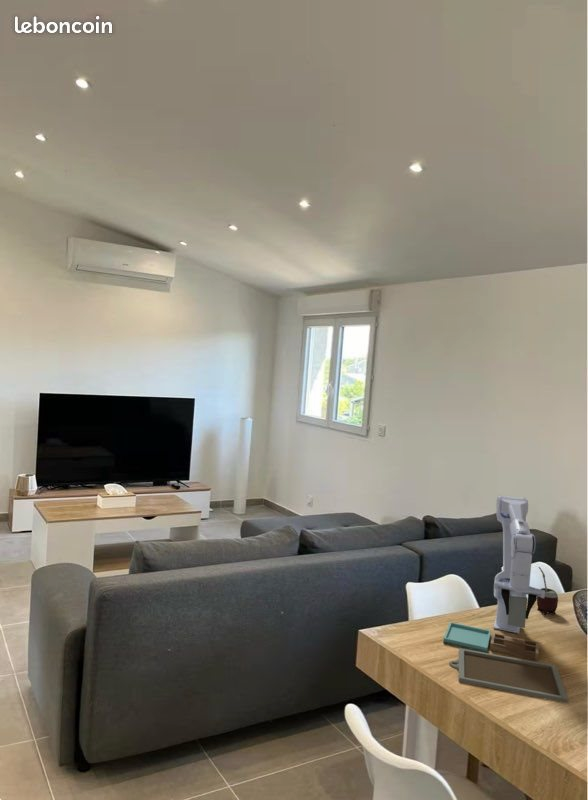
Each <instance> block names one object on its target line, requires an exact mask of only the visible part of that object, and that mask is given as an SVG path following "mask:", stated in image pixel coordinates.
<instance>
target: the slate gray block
mask: <svg viewBox="0 0 588 800" xmlns="http://www.w3.org/2000/svg"><path fill="white" fill-rule="evenodd" d="M527 602H528V596H526V597H522V596H517V595H512V594H510V602H509V615H508V625H512V626H516V627H520V629H526V620H527V619H526V610H527Z"/></svg>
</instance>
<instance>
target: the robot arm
mask: <svg viewBox="0 0 588 800" xmlns="http://www.w3.org/2000/svg"><path fill="white" fill-rule="evenodd" d="M495 506H496V512H495V514H496V518H497V519H496V520H497V521H498V522H500V523H501V527H502V558H503V559H502V571H500V572H498V573H497V574H495V576H494V583H493V596H494V598H495V599H496V600H497V606H496V615H495V616H496V617H495V620H494V625H493V629H496V630H500V631H505V632H509V633H514V634H520V631H521V627H516V626H512V625H508V615H509V602H510V594H512V595H517V596H522V597H527V608H526V620H528V619H529V615H530V612H531V610H532V608H533V606H534V605H535V603H537V596H538V597H541V598H544V595H545V590H541V588H536V587H532V586H530V584H531V583H530V582H531V572H532V561H533V554H535V551H536V537H535V535H534V534H533V533H531V531H530V527H529V524H528V522H527V521H526V517H527V515H528V512H529V501H528V499H527V498H526V497H517V496H506V495H505V496H504V495H498V496H497V499H496V505H495Z"/></svg>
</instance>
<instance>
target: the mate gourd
mask: <svg viewBox="0 0 588 800" xmlns="http://www.w3.org/2000/svg"><path fill="white" fill-rule="evenodd" d="M538 569H539V571H540V572H541V574H542V578H543V579H542V580H543V582H544V583H543V584H544V587H542V588H540V589H541V590H545V595H544V598H541V597H538V596H537V600H536V605H537V608H536V610H537V611H539V612H543V615H545V616H547V614H551V615H556V611H557V608H558V605H559V596H558V593H557V592H556V590H554V589H551V588H548V586H547V582H546V578H545V577H546V575H545V573H544V571H543V569H542V568H541V567H540V566H538Z"/></svg>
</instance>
